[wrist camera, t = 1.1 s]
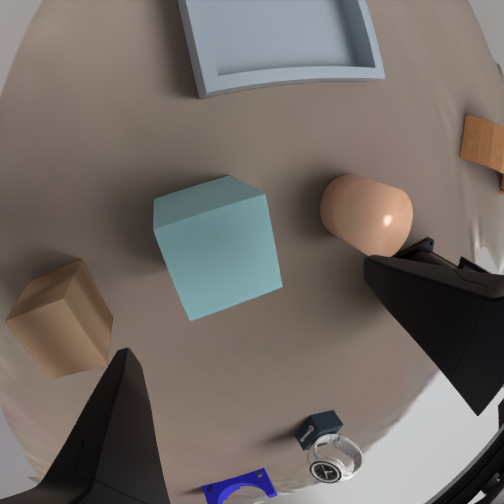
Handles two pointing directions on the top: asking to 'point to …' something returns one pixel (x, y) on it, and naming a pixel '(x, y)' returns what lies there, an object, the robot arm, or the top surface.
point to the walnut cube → (63, 321)
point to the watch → (320, 433)
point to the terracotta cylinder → (367, 214)
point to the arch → (484, 144)
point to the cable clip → (238, 486)
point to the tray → (278, 43)
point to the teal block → (217, 244)
